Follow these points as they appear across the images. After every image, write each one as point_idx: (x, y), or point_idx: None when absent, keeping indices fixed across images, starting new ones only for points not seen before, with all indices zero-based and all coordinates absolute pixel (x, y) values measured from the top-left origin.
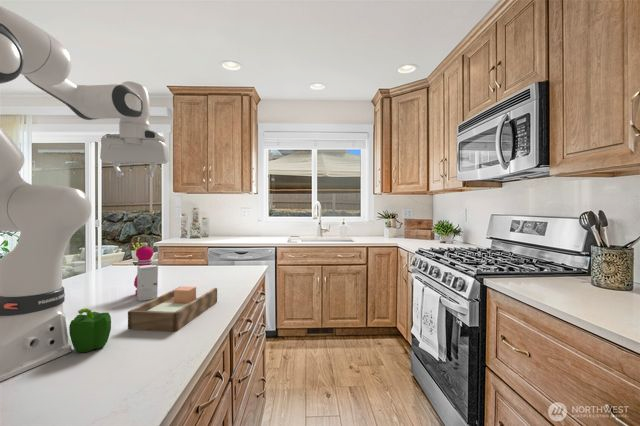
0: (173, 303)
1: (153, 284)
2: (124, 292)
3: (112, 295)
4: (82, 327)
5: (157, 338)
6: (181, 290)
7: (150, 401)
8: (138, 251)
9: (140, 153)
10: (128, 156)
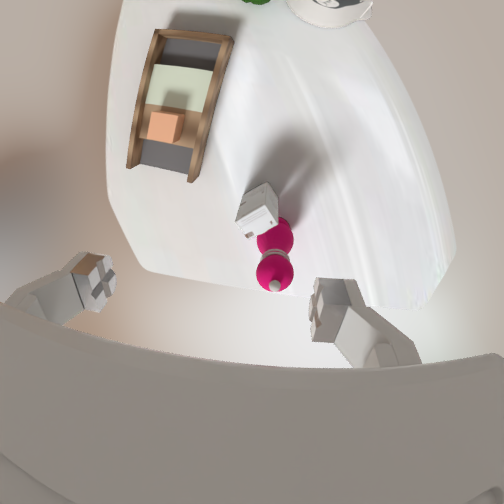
0: (184, 108)
1: (245, 202)
2: (313, 246)
3: (327, 230)
4: None
5: (183, 14)
6: (164, 113)
7: None
8: (284, 265)
9: (15, 409)
10: (202, 426)
